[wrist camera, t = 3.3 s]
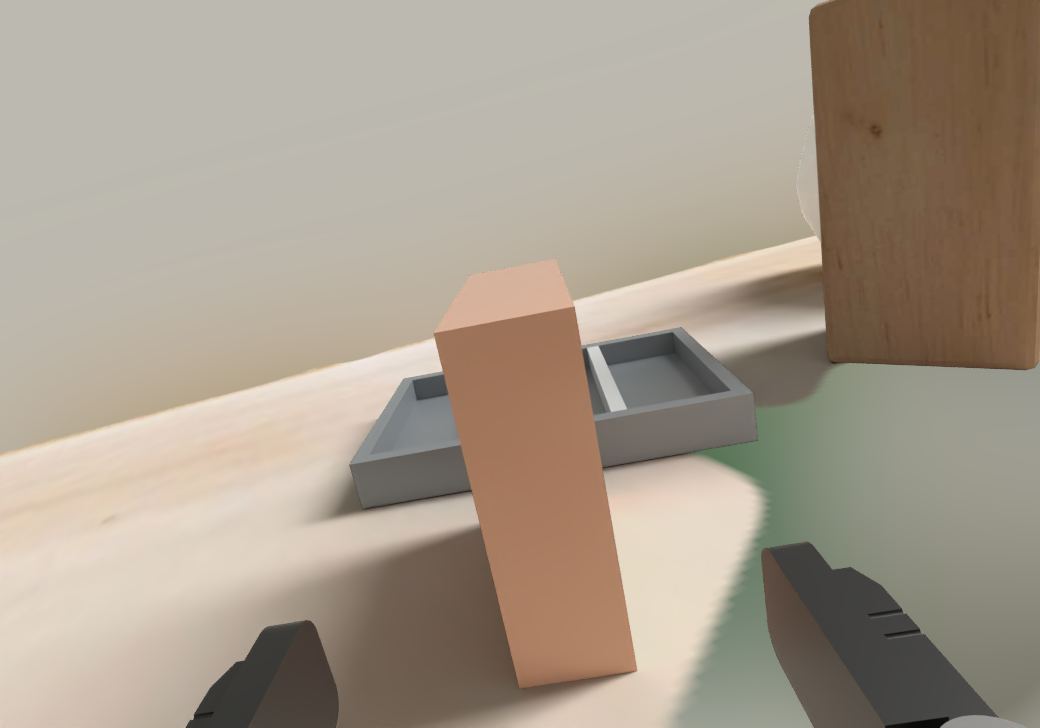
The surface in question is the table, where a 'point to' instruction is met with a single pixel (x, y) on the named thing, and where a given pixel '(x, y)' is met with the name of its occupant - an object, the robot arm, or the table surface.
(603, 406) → the tray
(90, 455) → the table surface
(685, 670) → the table surface
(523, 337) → the tan brick
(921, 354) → the wooden block
